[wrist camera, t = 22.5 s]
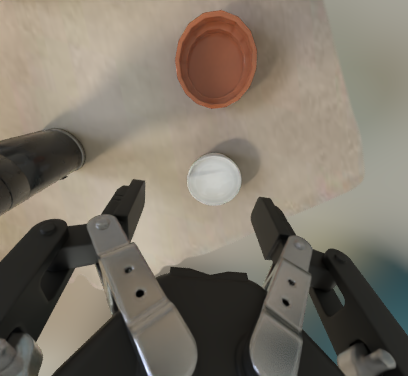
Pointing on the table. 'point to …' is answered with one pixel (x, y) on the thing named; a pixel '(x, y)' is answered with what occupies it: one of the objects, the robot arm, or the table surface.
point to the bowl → (216, 59)
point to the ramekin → (214, 179)
